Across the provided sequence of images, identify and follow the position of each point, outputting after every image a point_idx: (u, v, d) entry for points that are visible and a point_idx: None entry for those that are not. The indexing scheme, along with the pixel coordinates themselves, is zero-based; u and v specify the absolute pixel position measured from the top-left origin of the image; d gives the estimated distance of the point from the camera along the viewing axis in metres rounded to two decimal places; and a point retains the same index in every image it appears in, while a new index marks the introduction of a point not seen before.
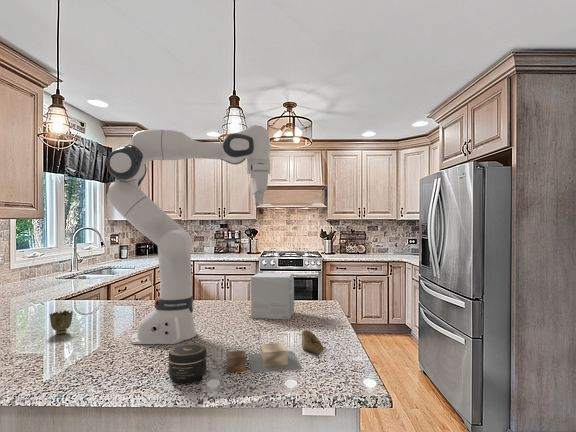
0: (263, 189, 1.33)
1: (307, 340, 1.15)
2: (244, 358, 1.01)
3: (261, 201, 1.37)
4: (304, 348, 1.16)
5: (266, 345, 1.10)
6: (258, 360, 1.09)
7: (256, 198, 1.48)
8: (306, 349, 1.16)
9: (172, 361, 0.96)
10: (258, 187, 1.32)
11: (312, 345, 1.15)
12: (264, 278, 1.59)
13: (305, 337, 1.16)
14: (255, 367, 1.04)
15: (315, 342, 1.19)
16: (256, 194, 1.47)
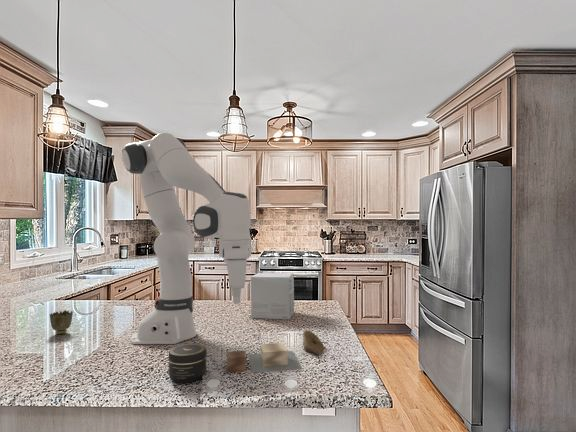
0: (239, 287, 0.94)
1: (308, 340, 1.15)
2: (244, 358, 1.01)
3: (238, 299, 0.98)
4: (305, 348, 1.16)
5: (266, 345, 1.10)
6: (258, 360, 1.09)
7: None
8: (307, 349, 1.15)
9: (172, 361, 0.96)
10: (232, 284, 0.94)
11: (313, 345, 1.14)
12: (264, 278, 1.59)
13: (306, 337, 1.15)
14: (255, 367, 1.04)
15: (316, 342, 1.18)
16: None
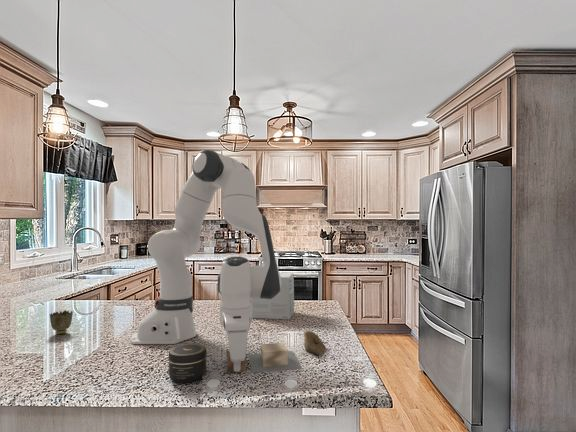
0: (240, 360, 0.94)
1: (309, 341, 1.14)
2: None
3: (238, 367, 1.00)
4: (306, 349, 1.15)
5: (266, 345, 1.10)
6: (258, 360, 1.09)
7: None
8: (308, 350, 1.15)
9: (172, 361, 0.96)
10: (233, 358, 0.93)
11: (315, 346, 1.14)
12: None
13: (307, 338, 1.15)
14: (255, 367, 1.04)
15: (317, 342, 1.18)
16: None
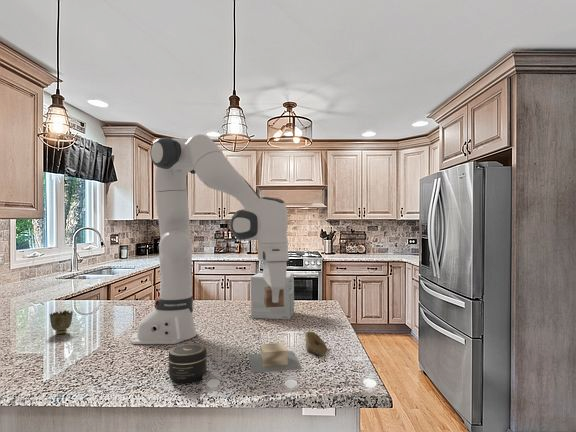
0: (280, 288, 0.99)
1: (311, 341, 1.14)
2: (282, 290, 1.07)
3: (276, 298, 1.05)
4: (308, 349, 1.15)
5: (266, 345, 1.10)
6: (258, 360, 1.09)
7: None
8: (310, 350, 1.14)
9: (172, 361, 0.96)
10: (274, 285, 0.99)
11: (316, 346, 1.13)
12: None
13: (309, 338, 1.15)
14: (255, 367, 1.04)
15: (319, 343, 1.17)
16: None
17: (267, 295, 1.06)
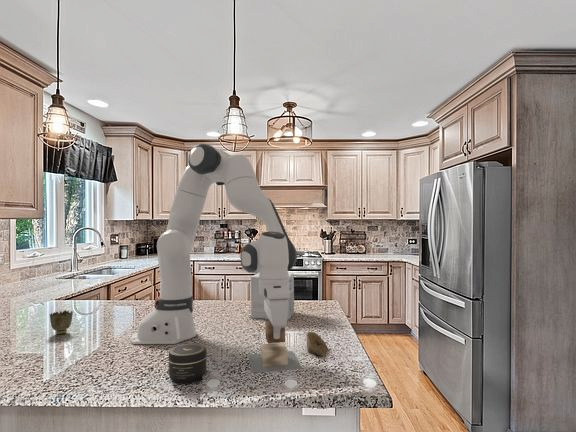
0: (282, 326, 0.99)
1: (312, 342, 1.13)
2: None
3: (277, 335, 1.05)
4: (309, 350, 1.14)
5: (266, 345, 1.10)
6: (258, 360, 1.09)
7: None
8: (311, 351, 1.14)
9: (172, 361, 0.96)
10: (275, 324, 0.99)
11: (317, 347, 1.13)
12: None
13: (310, 339, 1.14)
14: (255, 367, 1.04)
15: (320, 343, 1.17)
16: None
17: (268, 331, 1.06)
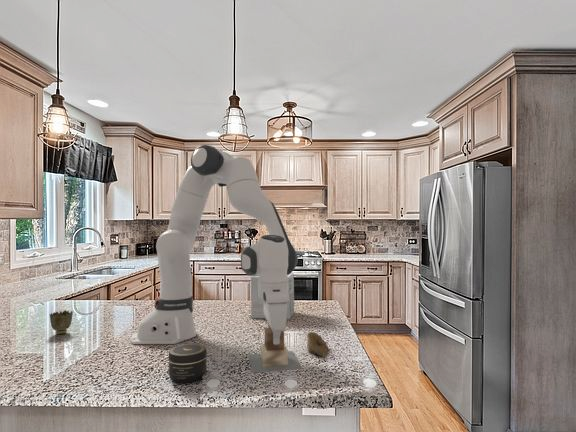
0: (281, 330, 0.99)
1: (312, 342, 1.13)
2: (282, 333, 1.07)
3: (277, 340, 1.03)
4: (309, 350, 1.14)
5: None
6: (258, 360, 1.09)
7: (269, 323, 1.14)
8: (311, 351, 1.14)
9: (172, 361, 0.96)
10: (274, 328, 0.99)
11: (317, 347, 1.13)
12: None
13: (310, 339, 1.14)
14: (255, 367, 1.04)
15: (320, 344, 1.17)
16: None
17: (267, 338, 1.06)
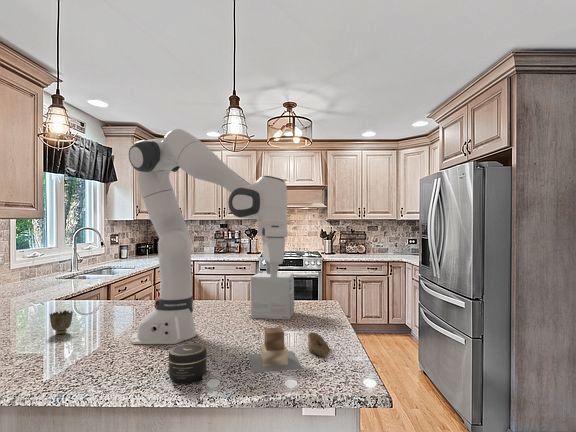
0: (278, 262, 1.02)
1: (313, 342, 1.13)
2: (282, 333, 1.07)
3: (275, 275, 1.06)
4: (310, 350, 1.14)
5: None
6: (258, 360, 1.09)
7: (267, 264, 1.17)
8: (312, 351, 1.14)
9: (172, 361, 0.96)
10: (272, 260, 1.02)
11: (318, 347, 1.13)
12: (264, 278, 1.59)
13: (311, 339, 1.14)
14: (255, 367, 1.04)
15: (321, 344, 1.16)
16: None
17: (267, 338, 1.06)
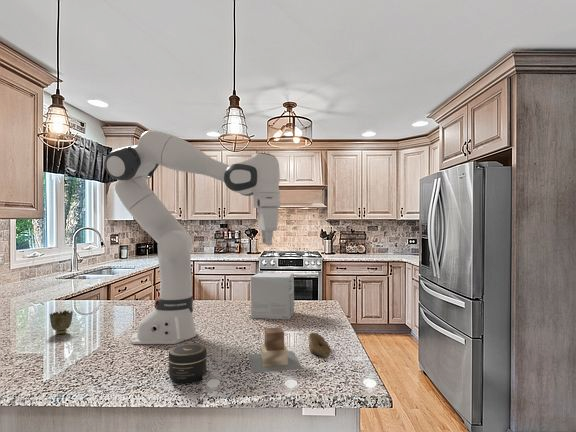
0: (272, 229, 1.13)
1: (314, 343, 1.12)
2: (282, 333, 1.07)
3: (270, 241, 1.17)
4: (311, 351, 1.14)
5: None
6: (258, 360, 1.09)
7: (263, 235, 1.28)
8: (313, 352, 1.13)
9: (172, 361, 0.96)
10: (267, 227, 1.13)
11: (319, 348, 1.12)
12: (264, 278, 1.59)
13: (312, 339, 1.13)
14: (255, 367, 1.04)
15: (322, 344, 1.16)
16: (263, 230, 1.28)
17: (267, 338, 1.06)
